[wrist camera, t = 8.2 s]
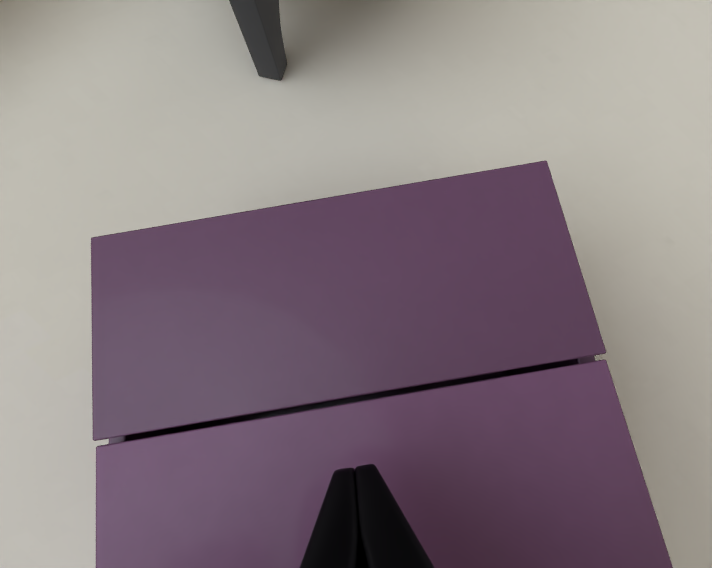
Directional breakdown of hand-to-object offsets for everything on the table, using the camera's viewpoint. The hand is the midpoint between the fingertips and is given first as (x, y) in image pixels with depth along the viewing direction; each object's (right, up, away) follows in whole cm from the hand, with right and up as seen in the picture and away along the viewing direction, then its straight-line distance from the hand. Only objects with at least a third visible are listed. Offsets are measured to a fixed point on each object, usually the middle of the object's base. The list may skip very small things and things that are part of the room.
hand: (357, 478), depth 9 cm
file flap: (0, -2, +2) cm, 3 cm away
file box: (0, -1, +11) cm, 11 cm away
